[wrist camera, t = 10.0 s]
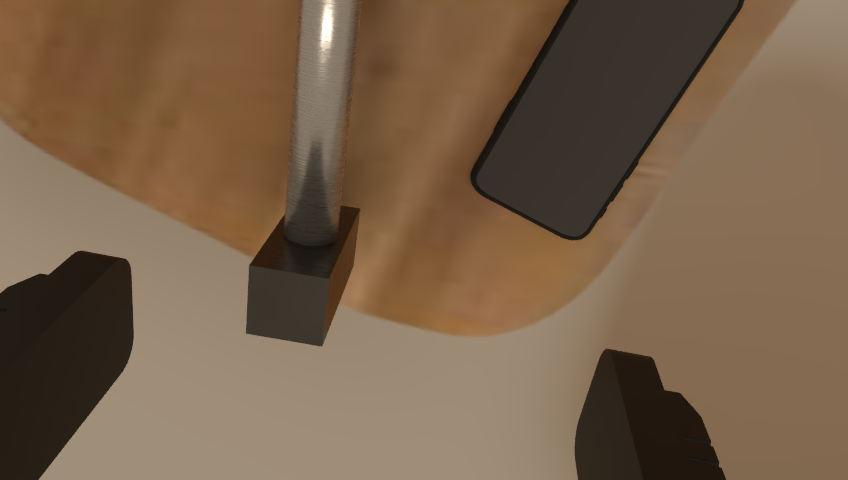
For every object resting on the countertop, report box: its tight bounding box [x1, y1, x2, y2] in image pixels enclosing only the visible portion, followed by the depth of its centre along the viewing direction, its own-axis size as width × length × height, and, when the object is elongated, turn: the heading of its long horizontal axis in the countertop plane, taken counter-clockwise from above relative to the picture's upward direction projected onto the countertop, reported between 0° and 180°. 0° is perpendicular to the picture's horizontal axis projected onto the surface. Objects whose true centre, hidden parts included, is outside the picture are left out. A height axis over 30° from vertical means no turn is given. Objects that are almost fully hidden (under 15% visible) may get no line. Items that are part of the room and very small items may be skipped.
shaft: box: [246, 0, 362, 346], centre depth 27 cm, size 18×3×7 cm, turn 172°
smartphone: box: [471, 0, 744, 240], centre depth 35 cm, size 7×1×15 cm
